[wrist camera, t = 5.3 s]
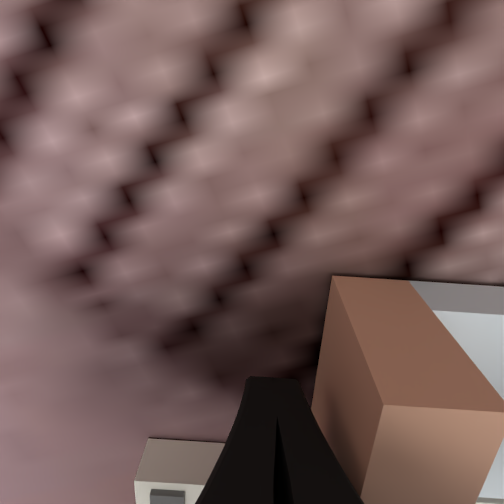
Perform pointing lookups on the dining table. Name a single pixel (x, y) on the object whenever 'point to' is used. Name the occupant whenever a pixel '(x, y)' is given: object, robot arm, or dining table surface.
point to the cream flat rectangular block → (185, 472)
